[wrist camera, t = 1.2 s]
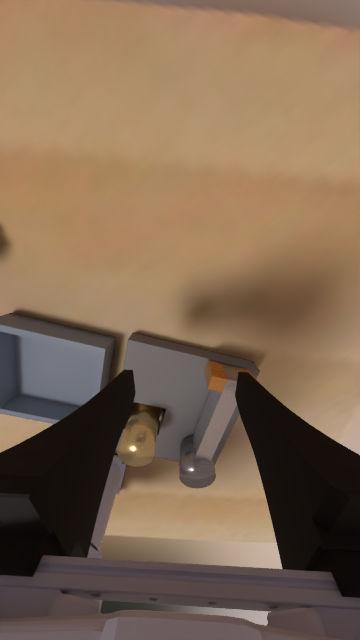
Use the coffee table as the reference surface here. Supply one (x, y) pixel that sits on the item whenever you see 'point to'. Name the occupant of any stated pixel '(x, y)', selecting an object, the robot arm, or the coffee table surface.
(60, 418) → the tray
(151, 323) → the coffee table surface
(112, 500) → the robot arm
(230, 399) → the lever
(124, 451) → the pin
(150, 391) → the crank plate
